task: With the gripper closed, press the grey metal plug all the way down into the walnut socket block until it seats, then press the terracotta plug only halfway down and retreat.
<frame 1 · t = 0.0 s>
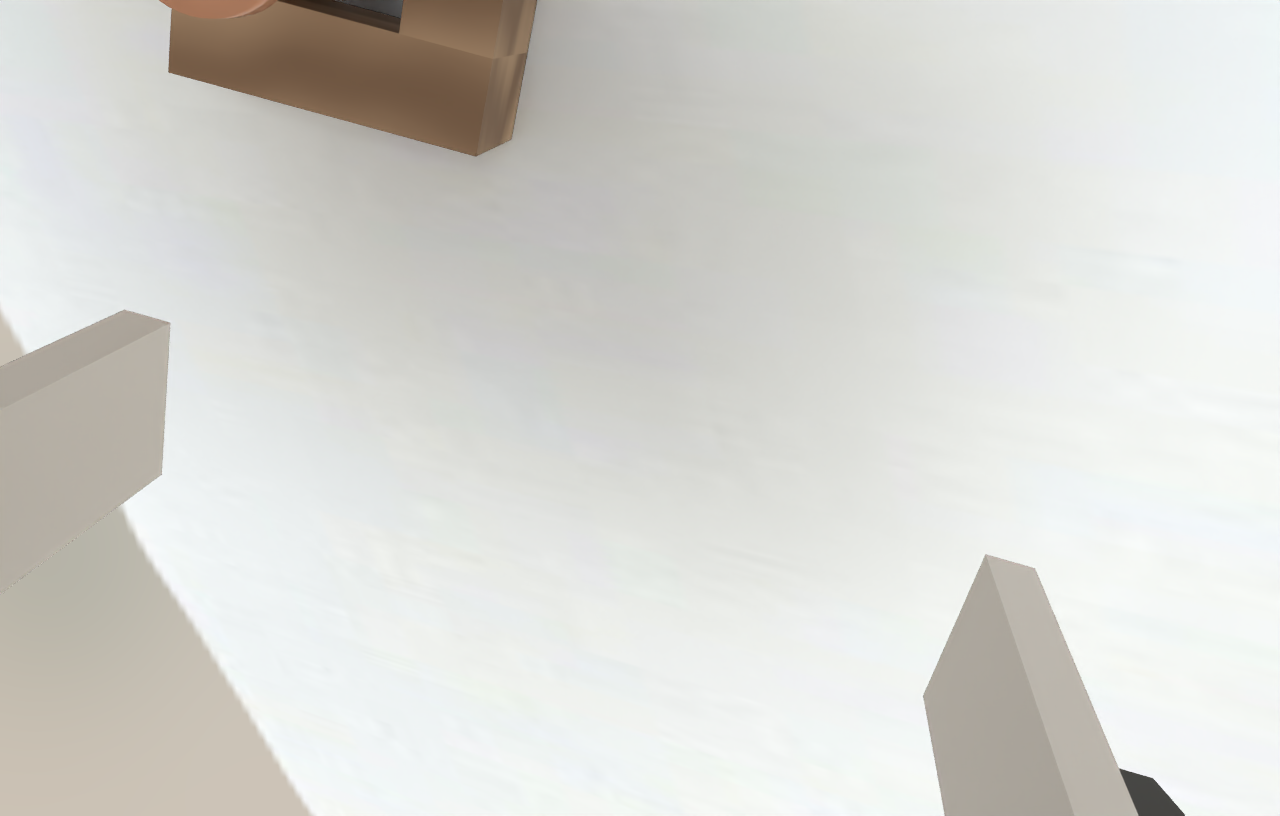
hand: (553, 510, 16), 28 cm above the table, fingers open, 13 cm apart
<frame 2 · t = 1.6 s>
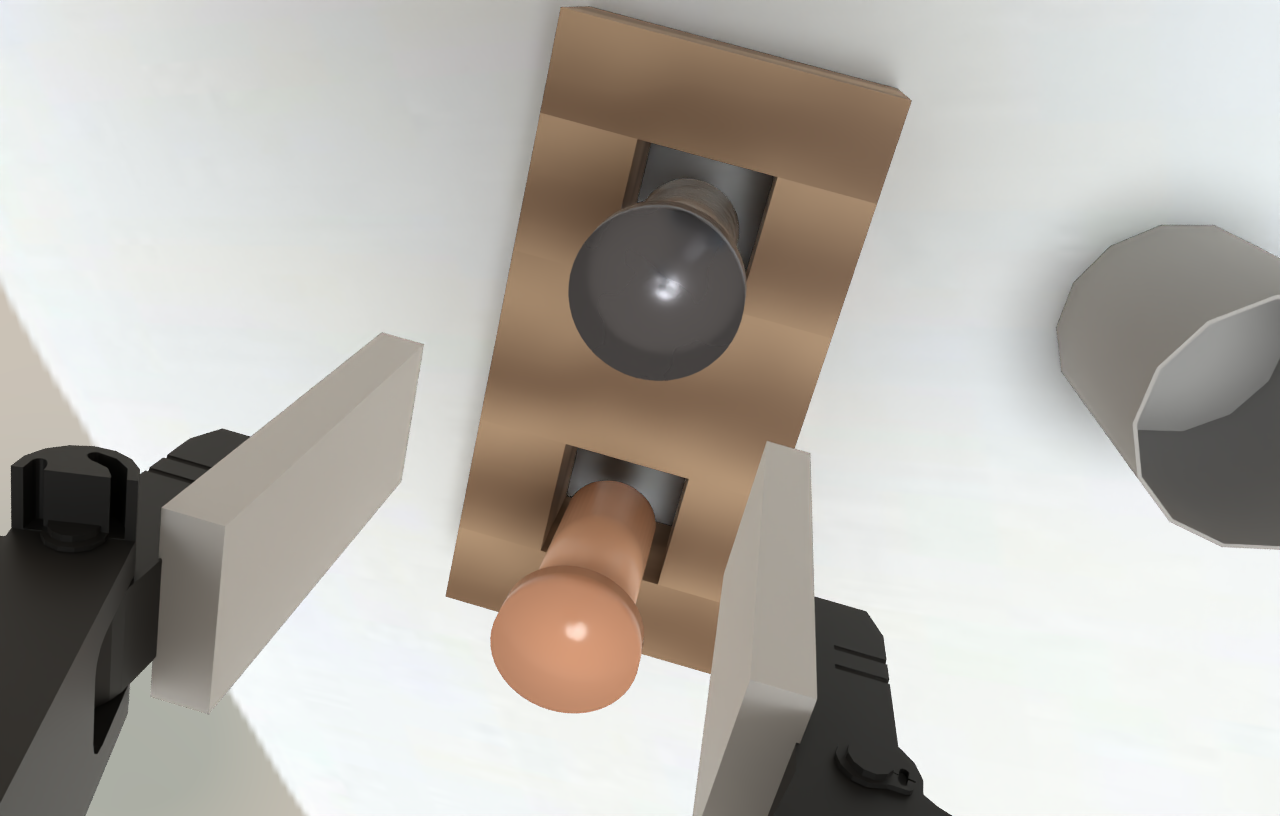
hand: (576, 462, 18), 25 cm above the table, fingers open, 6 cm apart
plug grey: (673, 259, 31), point 10 cm above the table, slide at 0.0 cm
cup: (1167, 328, 40), on the table
socket block: (664, 340, 43), on the table
plug terracotta: (589, 579, 36), point 10 cm above the table, slide at 0.0 cm
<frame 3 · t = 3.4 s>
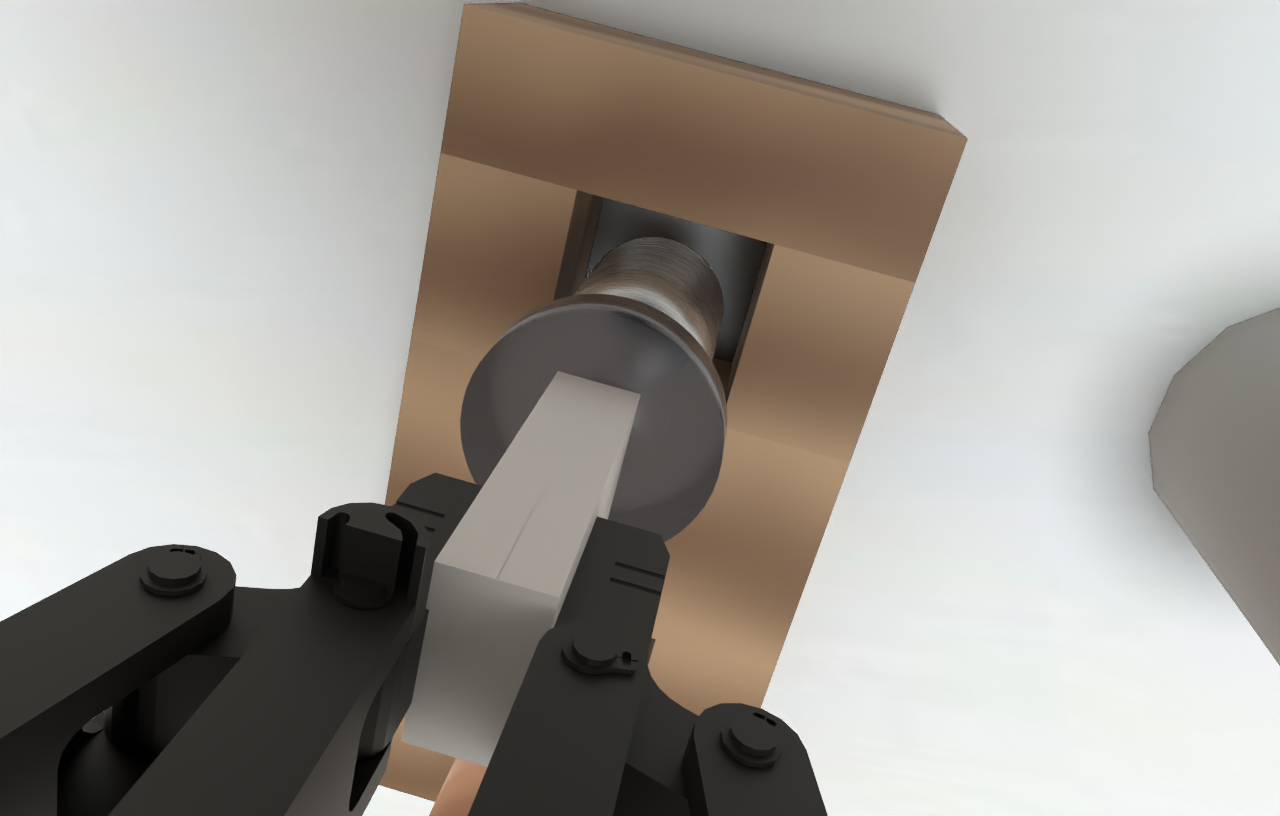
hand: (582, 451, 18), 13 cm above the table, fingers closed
plug grey: (627, 361, 22), point 9 cm above the table, slide at 1.1 cm, touching gripper
socket block: (627, 440, 33), on the table
plug terracotta: (513, 799, 26), point 10 cm above the table, slide at 0.0 cm
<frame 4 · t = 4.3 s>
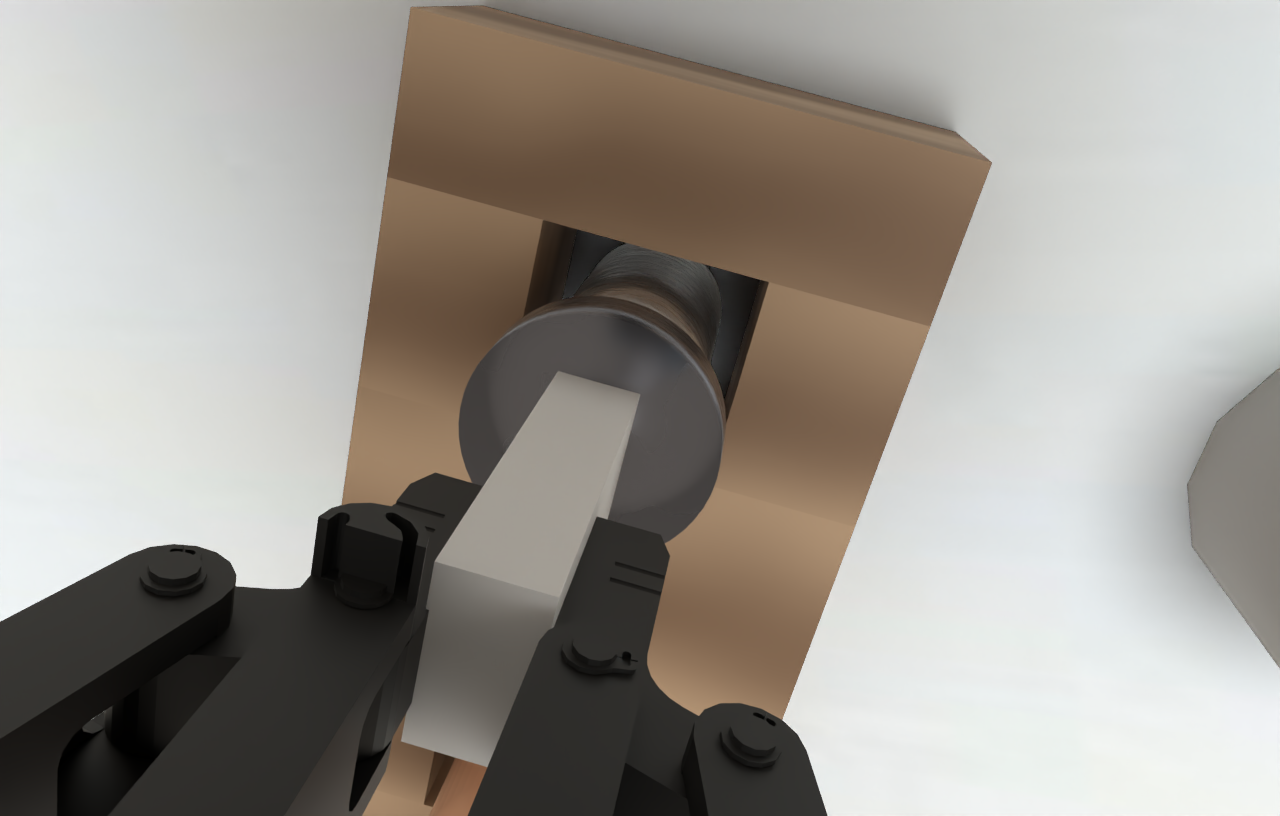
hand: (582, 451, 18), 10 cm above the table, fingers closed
plug grey: (625, 363, 22), point 5 cm above the table, slide at 4.5 cm, touching gripper
socket block: (607, 489, 30), on the table
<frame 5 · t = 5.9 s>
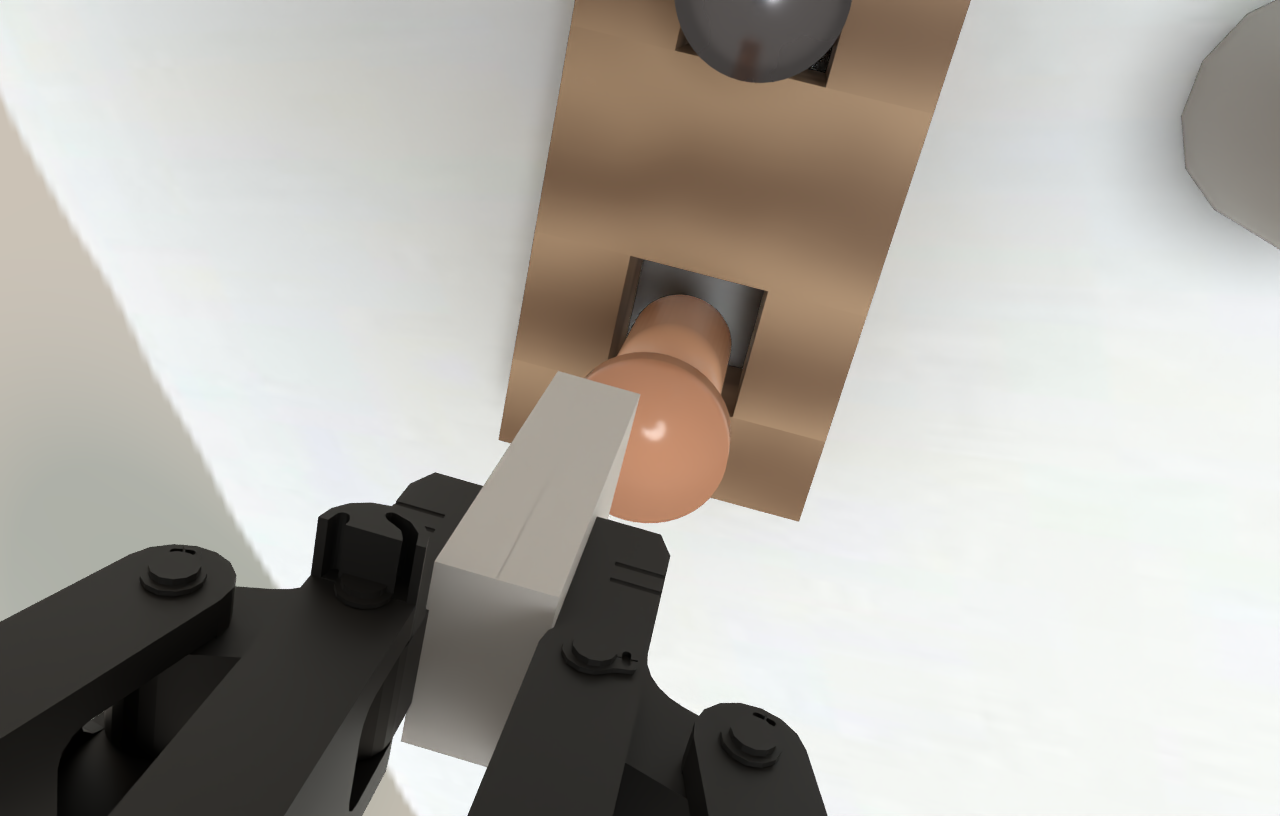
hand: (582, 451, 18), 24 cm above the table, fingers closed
socket block: (734, 151, 39), on the table
plug terracotta: (663, 389, 32), point 10 cm above the table, slide at 0.0 cm
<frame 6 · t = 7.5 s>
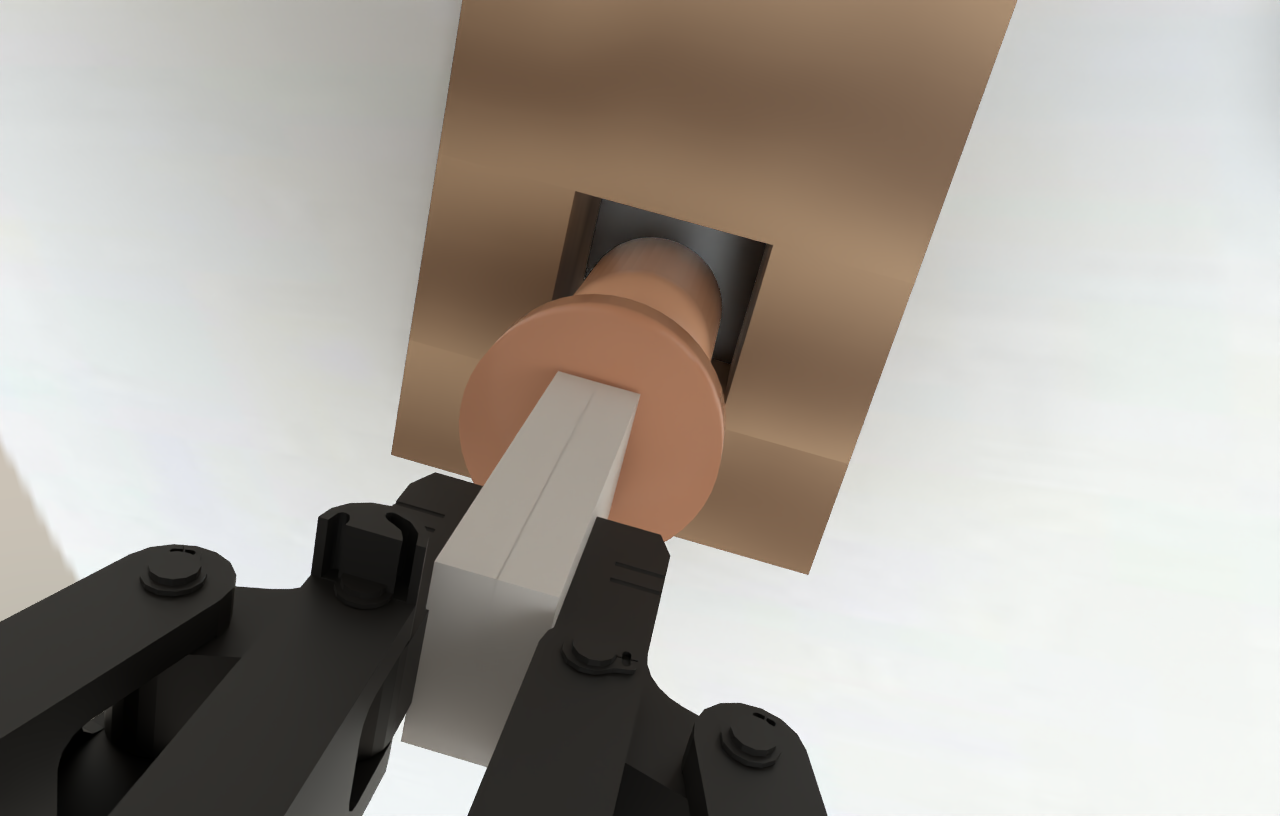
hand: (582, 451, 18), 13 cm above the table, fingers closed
socket block: (726, 59, 28), on the table
plug terracotta: (626, 361, 22), point 9 cm above the table, slide at 1.1 cm, touching gripper
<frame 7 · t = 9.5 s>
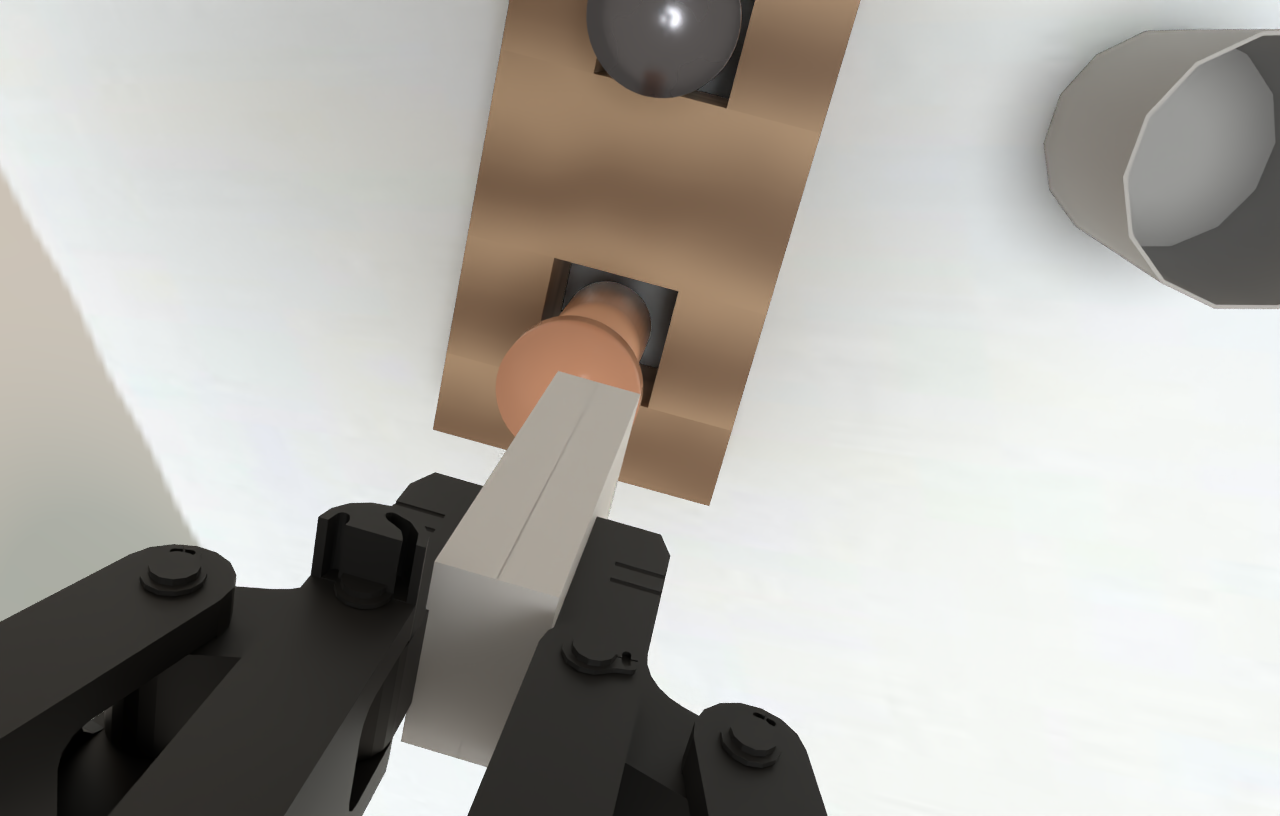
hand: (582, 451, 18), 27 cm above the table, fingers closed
plug grey: (675, 18, 35), point 5 cm above the table, slide at 4.5 cm
cup: (1154, 141, 40), on the table
socket block: (652, 168, 43), on the table
plug terracotta: (589, 356, 38), point 8 cm above the table, slide at 2.0 cm
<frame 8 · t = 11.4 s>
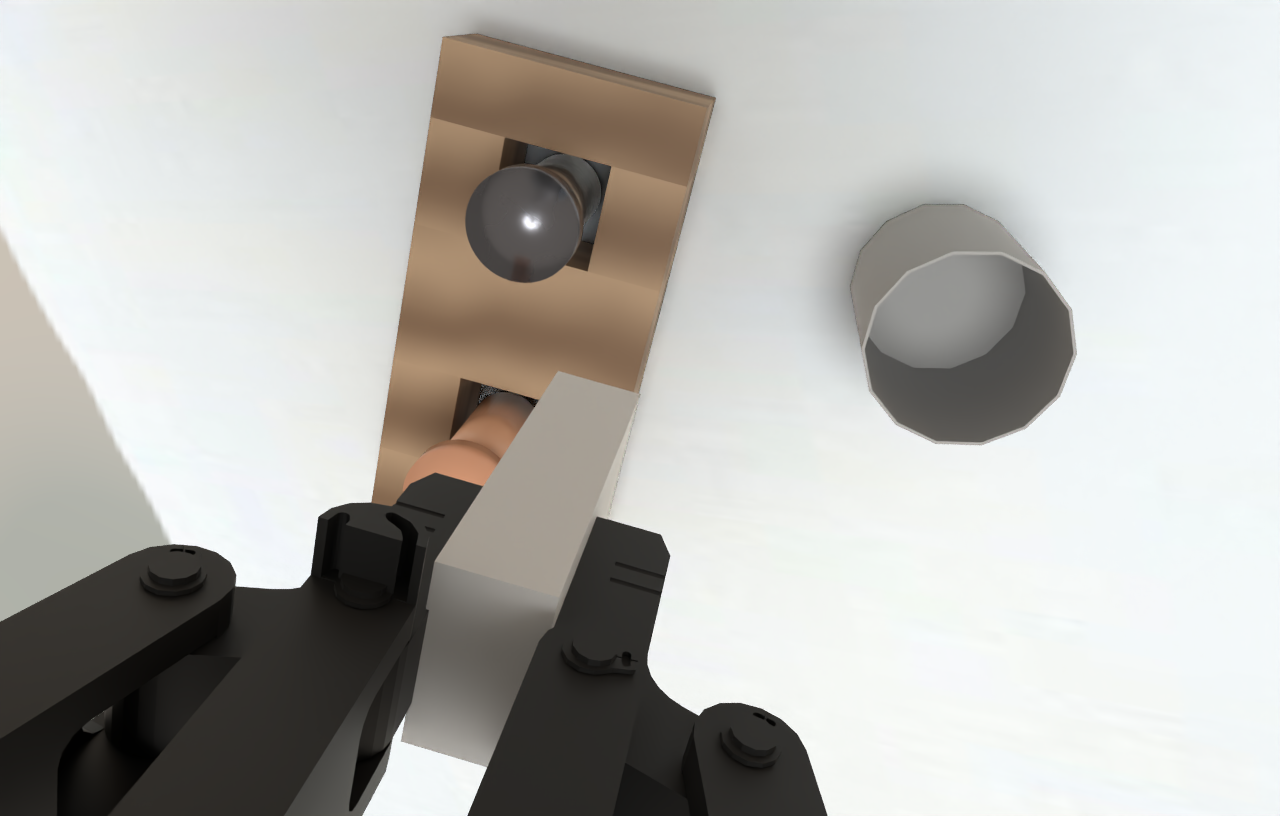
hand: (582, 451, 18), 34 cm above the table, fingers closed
plug grey: (545, 207, 46), point 5 cm above the table, slide at 4.5 cm
cup: (936, 286, 51), on the table
socket block: (545, 298, 53), on the table
plug terracotta: (483, 459, 49), point 8 cm above the table, slide at 2.0 cm
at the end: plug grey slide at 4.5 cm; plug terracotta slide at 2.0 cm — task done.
